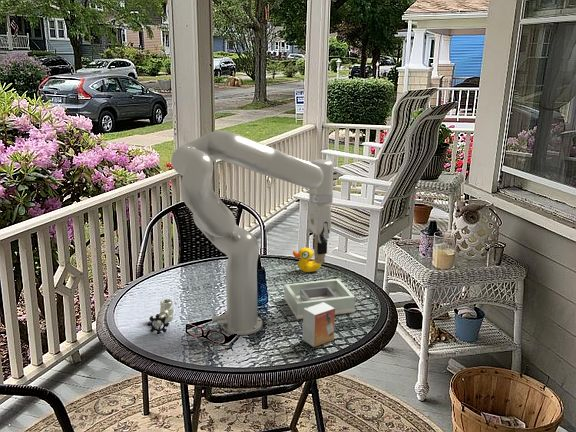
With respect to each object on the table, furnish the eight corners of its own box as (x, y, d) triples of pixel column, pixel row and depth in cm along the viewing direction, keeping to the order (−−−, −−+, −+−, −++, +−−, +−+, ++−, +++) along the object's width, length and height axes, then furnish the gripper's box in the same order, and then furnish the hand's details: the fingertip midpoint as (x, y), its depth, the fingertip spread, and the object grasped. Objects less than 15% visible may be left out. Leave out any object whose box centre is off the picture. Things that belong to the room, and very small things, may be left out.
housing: (297, 319, 172) (297, 303, 171) (284, 298, 187) (284, 284, 186) (354, 312, 177) (355, 297, 176) (337, 292, 192) (338, 278, 191)
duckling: (293, 274, 209) (293, 250, 206) (292, 269, 214) (292, 246, 211) (322, 273, 210) (322, 249, 207) (320, 268, 215) (320, 245, 212)
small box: (313, 348, 155) (314, 315, 152) (302, 340, 159) (302, 308, 156) (334, 340, 159) (335, 308, 157) (322, 332, 164) (323, 301, 161)
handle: (330, 264, 176) (331, 221, 172) (311, 265, 175) (312, 221, 171) (327, 259, 181) (328, 217, 176) (309, 260, 180) (309, 217, 176)
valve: (159, 316, 174) (147, 334, 162) (157, 298, 172) (146, 314, 161) (179, 317, 174) (169, 335, 162) (178, 298, 172) (167, 315, 160)
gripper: (302, 192, 178) (301, 244, 184) (318, 205, 163) (316, 261, 168) (323, 191, 180) (322, 242, 185) (340, 203, 165) (339, 259, 170)
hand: (319, 250), depth 177 cm, fingers closed on handle, 3 cm apart
